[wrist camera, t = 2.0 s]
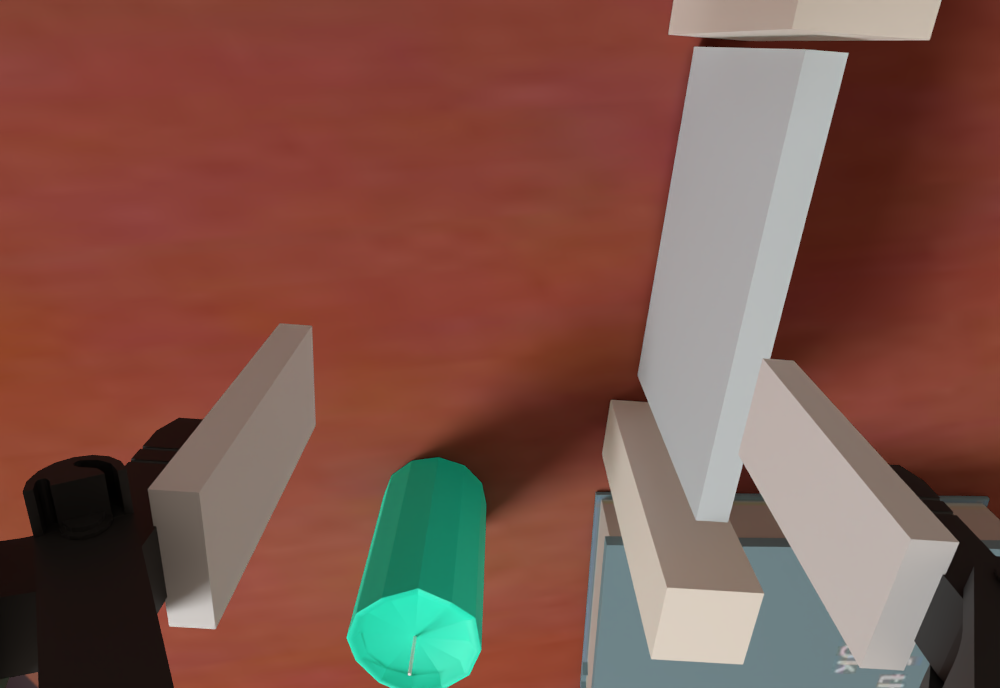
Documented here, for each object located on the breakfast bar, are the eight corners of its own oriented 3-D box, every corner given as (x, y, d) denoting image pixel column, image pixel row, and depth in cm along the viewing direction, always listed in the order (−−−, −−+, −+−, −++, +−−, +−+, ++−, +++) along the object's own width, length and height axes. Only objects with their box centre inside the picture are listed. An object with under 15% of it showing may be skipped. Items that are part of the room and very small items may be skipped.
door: (694, 46, 30) (805, 49, 19) (758, 51, 30) (905, 57, 19) (637, 375, 36) (695, 520, 25) (689, 379, 36) (770, 525, 25)
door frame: (682, -58, 28) (829, -140, 16) (765, -51, 29) (979, -126, 16) (601, 454, 39) (651, 659, 26) (663, 458, 39) (743, 664, 26)
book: (981, 491, 40) (1043, 549, 36) (912, 687, 47) (956, 757, 42) (594, 487, 40) (606, 545, 35) (579, 684, 47) (587, 754, 42)
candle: (481, 545, 41) (474, 728, 30) (382, 537, 41) (337, 718, 30) (491, 461, 39) (486, 627, 28) (385, 452, 39) (338, 615, 28)
